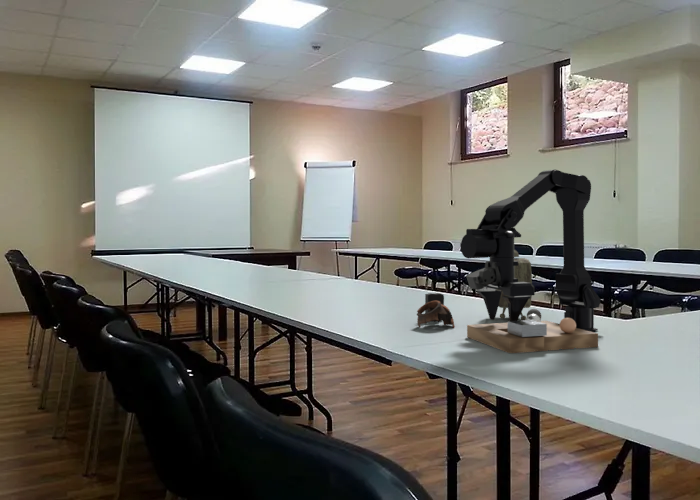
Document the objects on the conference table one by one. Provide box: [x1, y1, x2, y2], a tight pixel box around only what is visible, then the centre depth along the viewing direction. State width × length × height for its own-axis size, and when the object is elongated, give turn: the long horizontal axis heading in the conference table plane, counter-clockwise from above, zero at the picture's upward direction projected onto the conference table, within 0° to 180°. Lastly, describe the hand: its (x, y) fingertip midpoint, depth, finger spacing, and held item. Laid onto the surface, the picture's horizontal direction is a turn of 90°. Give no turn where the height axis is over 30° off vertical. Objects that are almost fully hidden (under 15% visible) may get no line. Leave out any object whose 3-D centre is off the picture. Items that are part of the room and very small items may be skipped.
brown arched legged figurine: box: [416, 301, 456, 329], centre depth 161 cm, size 12×10×8 cm
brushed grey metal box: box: [507, 319, 547, 337], centre depth 130 cm, size 6×6×2 cm
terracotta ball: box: [559, 317, 576, 333], centre depth 132 cm, size 4×4×4 cm
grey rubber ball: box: [526, 308, 542, 320], centre depth 147 cm, size 4×4×4 cm
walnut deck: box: [466, 320, 599, 354], centre depth 138 cm, size 22×20×3 cm
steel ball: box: [526, 314, 542, 322], centre depth 138 cm, size 4×4×4 cm
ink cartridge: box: [424, 292, 445, 322], centre depth 171 cm, size 5×2×8 cm, turn 103°
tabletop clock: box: [495, 249, 533, 321], centre depth 173 cm, size 14×9×25 cm, turn 179°
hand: (502, 322), depth 140 cm, fingers open, 9 cm apart
